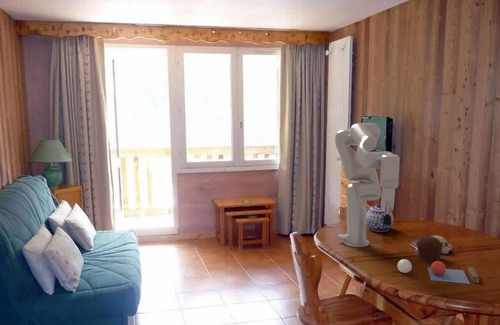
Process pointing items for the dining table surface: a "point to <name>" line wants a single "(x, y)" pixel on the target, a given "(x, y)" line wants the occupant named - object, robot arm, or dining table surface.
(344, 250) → the dining table surface
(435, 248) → the muffin
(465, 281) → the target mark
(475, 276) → the stopper wall
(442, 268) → the red ball
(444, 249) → the seashell
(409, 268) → the cue ball
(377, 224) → the teapot
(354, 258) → the dining table surface
